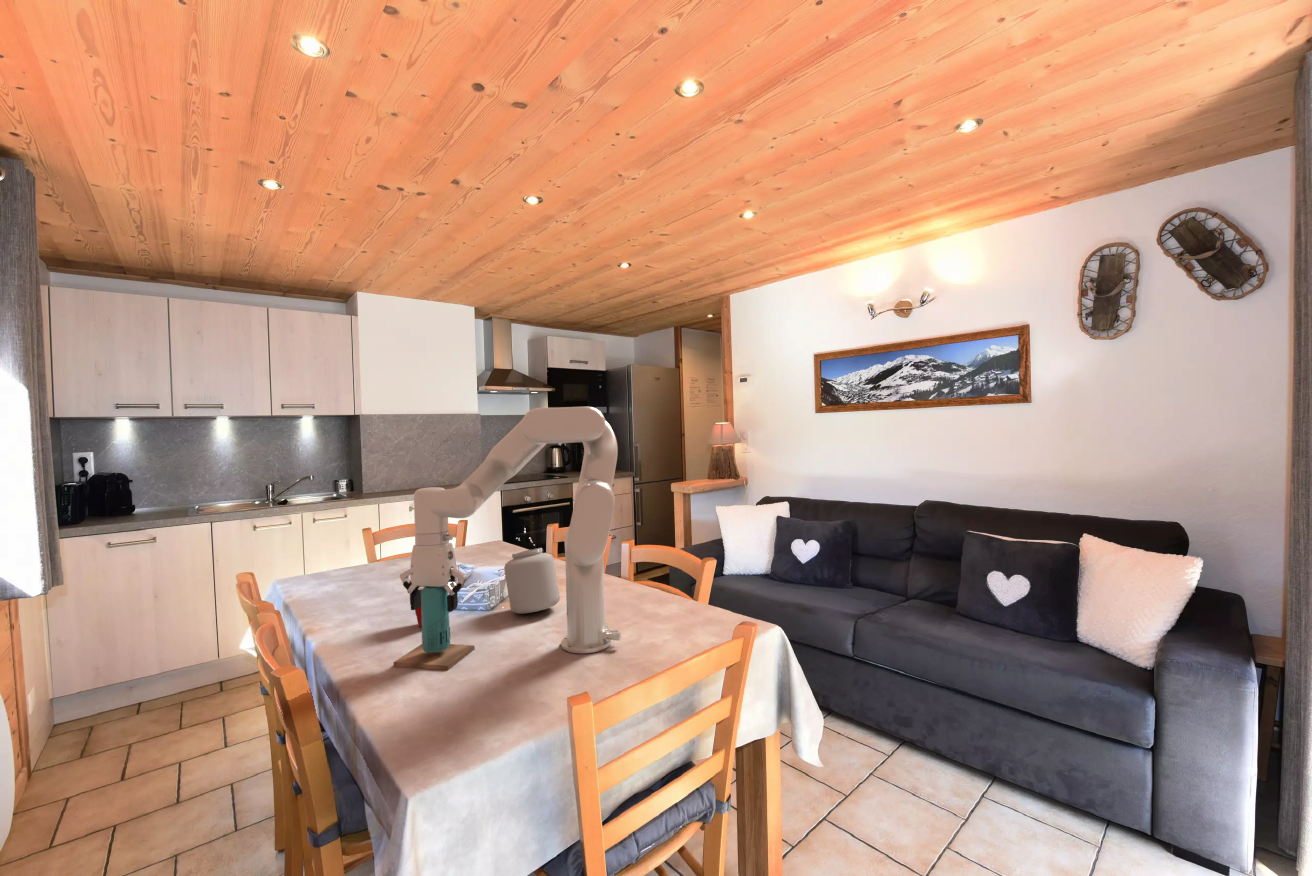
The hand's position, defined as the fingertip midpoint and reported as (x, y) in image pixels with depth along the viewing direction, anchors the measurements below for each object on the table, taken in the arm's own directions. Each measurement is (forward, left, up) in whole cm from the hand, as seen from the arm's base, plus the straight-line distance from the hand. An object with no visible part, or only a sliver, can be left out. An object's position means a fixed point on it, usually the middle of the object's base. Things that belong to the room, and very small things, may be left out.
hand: (434, 609), depth 135 cm
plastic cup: (+15, -21, -12) cm, 28 cm away
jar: (-9, -36, -12) cm, 39 cm away
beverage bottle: (0, 0, -11) cm, 11 cm away
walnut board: (0, 0, -12) cm, 12 cm away
